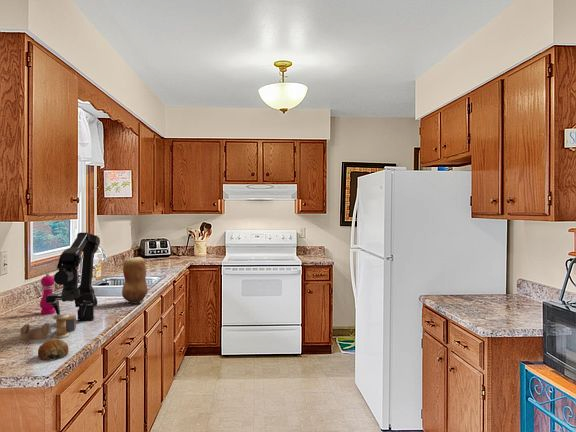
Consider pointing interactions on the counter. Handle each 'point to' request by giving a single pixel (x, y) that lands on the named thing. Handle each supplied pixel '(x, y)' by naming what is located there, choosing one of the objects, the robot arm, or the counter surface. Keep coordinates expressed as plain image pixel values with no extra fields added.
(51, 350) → the bread roll
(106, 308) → the counter surface
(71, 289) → the robot arm
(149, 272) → the counter surface
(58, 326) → the door knob
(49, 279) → the pepper mill
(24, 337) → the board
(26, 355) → the counter surface
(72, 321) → the block
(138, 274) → the butternut squash
